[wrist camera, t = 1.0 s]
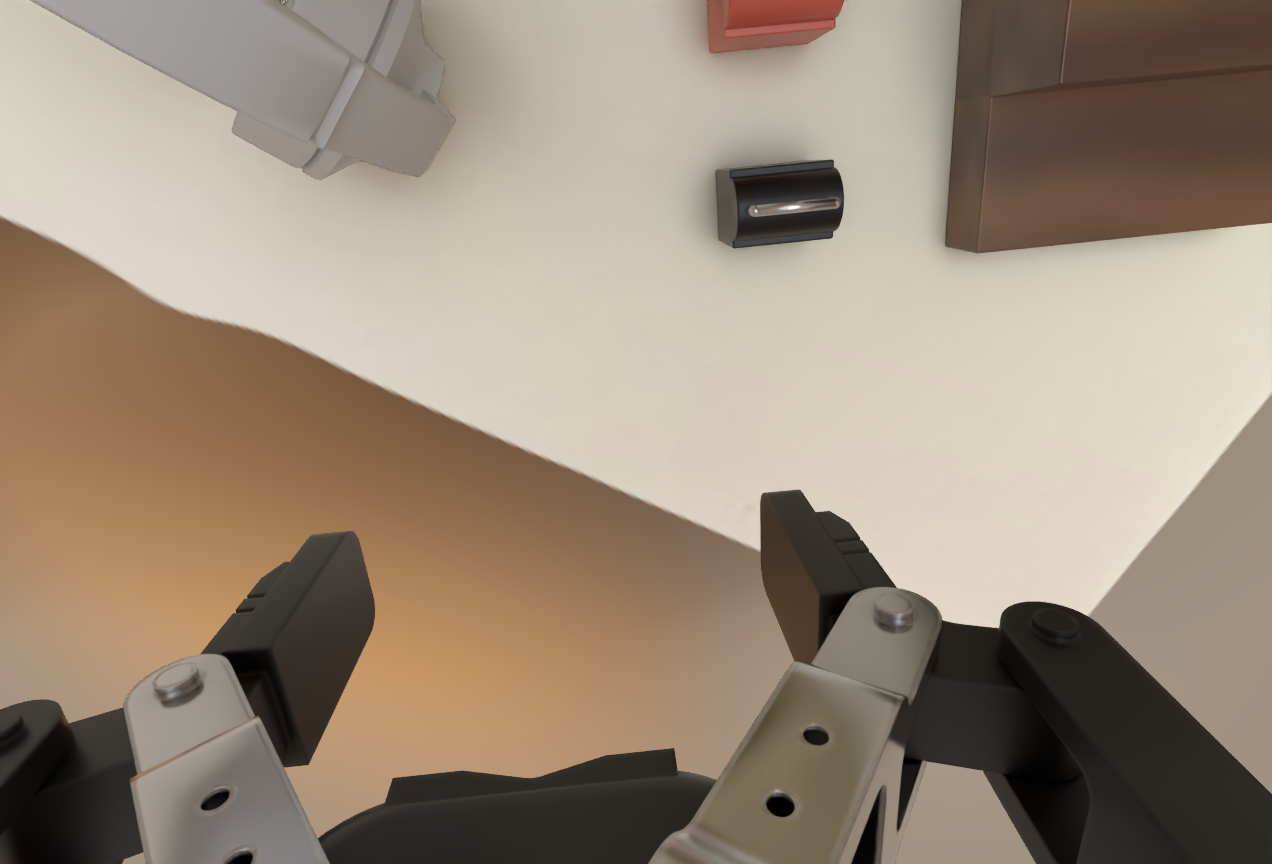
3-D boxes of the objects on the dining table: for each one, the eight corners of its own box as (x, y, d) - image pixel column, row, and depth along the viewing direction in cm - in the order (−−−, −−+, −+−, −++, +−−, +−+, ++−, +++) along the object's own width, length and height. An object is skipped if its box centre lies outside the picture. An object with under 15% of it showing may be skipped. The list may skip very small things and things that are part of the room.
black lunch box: (715, 169, 32) (740, 169, 26) (808, 160, 32) (852, 158, 26) (718, 240, 33) (743, 254, 28) (808, 231, 33) (850, 243, 28)
